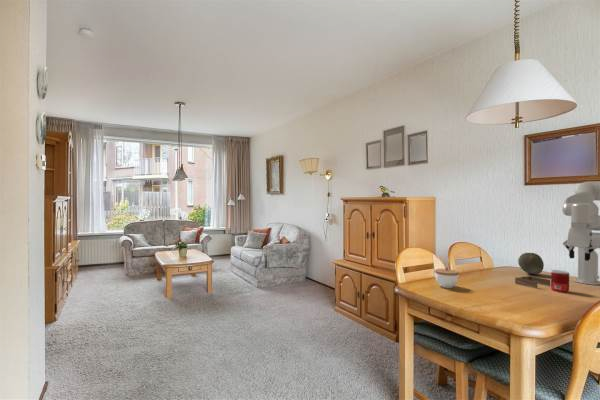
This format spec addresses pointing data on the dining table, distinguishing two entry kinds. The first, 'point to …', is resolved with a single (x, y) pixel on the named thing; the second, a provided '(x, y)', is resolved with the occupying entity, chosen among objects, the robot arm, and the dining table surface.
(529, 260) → the cantaloupe
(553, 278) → the canned food
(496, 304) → the dining table surface
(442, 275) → the lidded bowl
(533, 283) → the corral
